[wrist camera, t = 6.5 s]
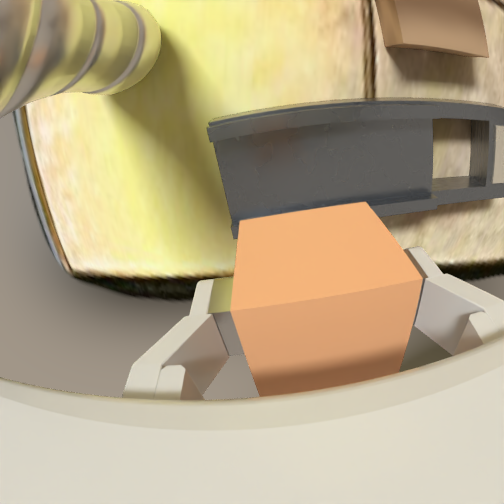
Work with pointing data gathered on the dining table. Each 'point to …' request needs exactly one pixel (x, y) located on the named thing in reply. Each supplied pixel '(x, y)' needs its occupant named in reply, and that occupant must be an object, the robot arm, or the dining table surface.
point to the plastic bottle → (73, 48)
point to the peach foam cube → (322, 298)
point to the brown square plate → (434, 26)
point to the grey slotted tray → (352, 156)
